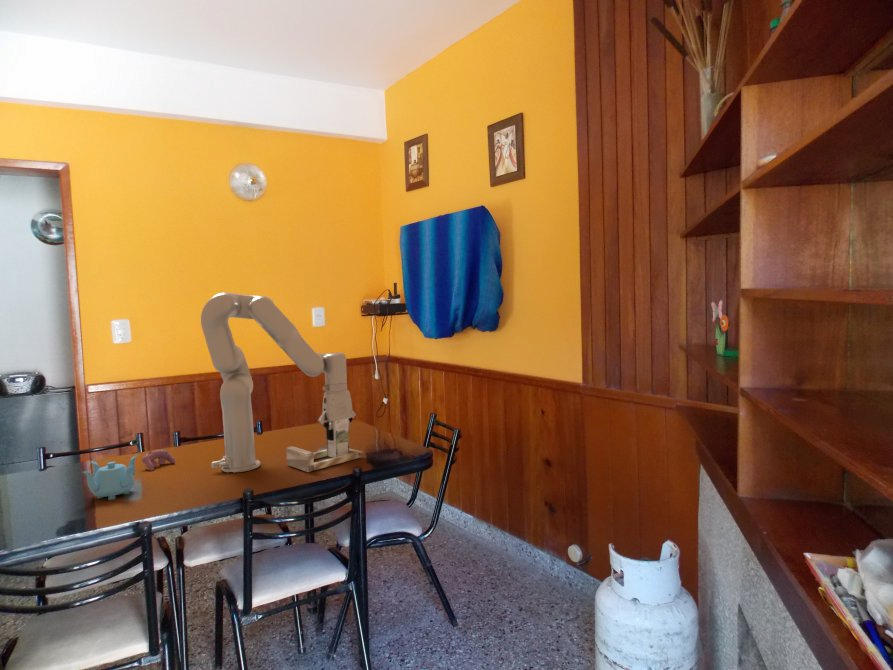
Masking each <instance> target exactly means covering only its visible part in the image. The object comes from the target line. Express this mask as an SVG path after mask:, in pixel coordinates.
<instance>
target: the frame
mask: <svg viewBox="0 0 893 670" xmlns="http://www.w3.org/2000/svg"><path fill="white" fill-rule="evenodd" d="M285 450H286V465H287V466H289V467H291V468H295V469H297V470H301V471H303V472H306V473H311V472H313V471H317V470H320V469H324V468H328V467H331V466H334V465H335V466H336V465H338V464H342V463H343V464H344V463H345V462H349V461H352V460H356V459H361V458H363V450H358V449H353V448H350V447H349V454H345V455H341V456H338V457H334V458H332V457H330V458H328V459H323V460H320V461H316V462H315V461H314V460H318V459H321V458H324V457H325V458H326V457H328V456H327V448H326V449H323V450H318V451H315V452H313V451H309V450H306V449H303V448H299V447H296V446H288V447H286V448H285Z"/></svg>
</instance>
